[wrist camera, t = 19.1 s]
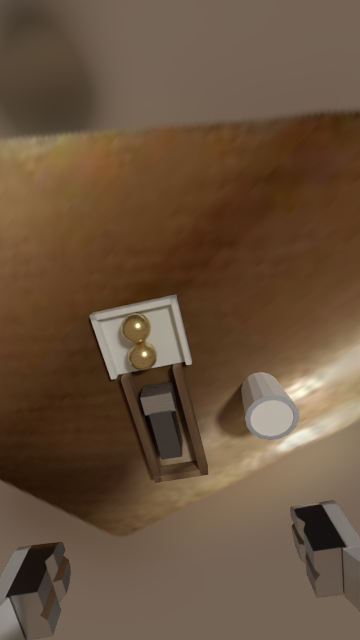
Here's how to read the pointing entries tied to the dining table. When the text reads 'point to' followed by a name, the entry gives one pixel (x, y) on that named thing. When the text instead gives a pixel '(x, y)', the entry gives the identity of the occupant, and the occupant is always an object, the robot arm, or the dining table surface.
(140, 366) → the brass sphere
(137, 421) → the slot rail
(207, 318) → the dining table surface
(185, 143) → the dining table surface
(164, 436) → the long gray brick
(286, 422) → the white cup
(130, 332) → the shiny gold ball
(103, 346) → the tray
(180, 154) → the dining table surface
